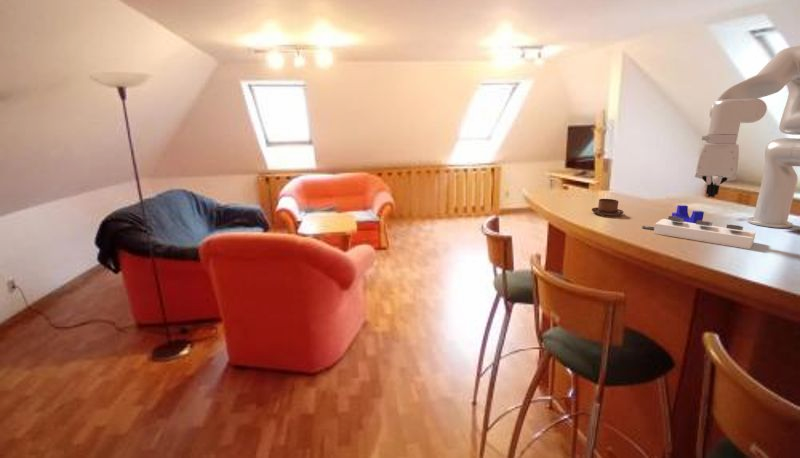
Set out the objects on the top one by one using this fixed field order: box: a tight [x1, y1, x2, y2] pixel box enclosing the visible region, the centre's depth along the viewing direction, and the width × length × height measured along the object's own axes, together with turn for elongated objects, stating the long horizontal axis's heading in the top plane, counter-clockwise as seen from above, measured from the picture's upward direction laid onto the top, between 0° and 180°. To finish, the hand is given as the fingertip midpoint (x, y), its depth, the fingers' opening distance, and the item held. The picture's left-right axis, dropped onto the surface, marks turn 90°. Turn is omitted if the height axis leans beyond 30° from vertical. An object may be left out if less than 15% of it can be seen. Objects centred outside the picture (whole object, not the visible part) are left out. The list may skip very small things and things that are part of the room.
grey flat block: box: [667, 215, 684, 223], centre depth 141 cm, size 6×4×1 cm, turn 136°
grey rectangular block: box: [725, 224, 744, 230], centre depth 130 cm, size 6×4×1 cm, turn 136°
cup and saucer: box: [591, 198, 624, 217], centre depth 170 cm, size 12×12×6 cm
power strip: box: [641, 218, 757, 250], centre depth 138 cm, size 10×31×4 cm, turn 45°
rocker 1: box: [696, 220, 713, 226], centre depth 135 cm, size 6×4×1 cm, turn 135°
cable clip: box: [671, 204, 705, 223], centre depth 154 cm, size 12×4×6 cm, turn 173°
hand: (711, 196), depth 134 cm, fingers closed
